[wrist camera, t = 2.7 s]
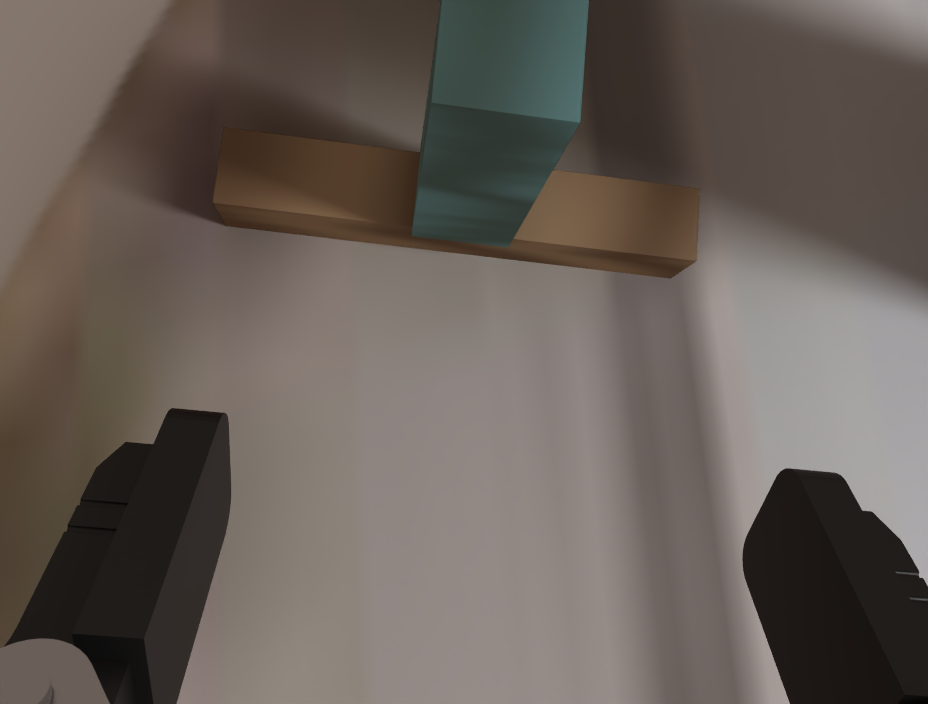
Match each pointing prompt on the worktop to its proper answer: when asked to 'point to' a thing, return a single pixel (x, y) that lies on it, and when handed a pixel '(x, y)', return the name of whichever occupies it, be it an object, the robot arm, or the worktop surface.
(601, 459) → the worktop surface
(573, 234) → the beam
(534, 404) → the worktop surface
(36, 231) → the worktop surface
